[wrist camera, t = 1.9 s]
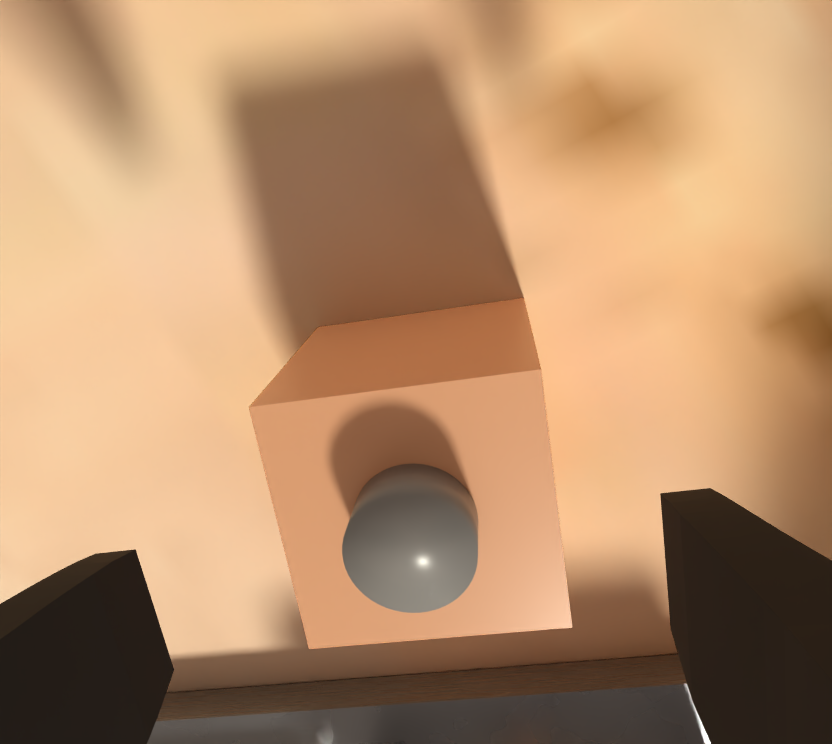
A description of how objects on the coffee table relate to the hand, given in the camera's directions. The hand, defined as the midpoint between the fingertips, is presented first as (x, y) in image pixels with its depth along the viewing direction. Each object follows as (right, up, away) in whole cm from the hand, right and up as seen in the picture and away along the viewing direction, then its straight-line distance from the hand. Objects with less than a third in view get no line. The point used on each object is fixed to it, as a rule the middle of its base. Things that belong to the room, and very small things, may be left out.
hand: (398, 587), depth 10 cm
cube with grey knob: (+1, +2, +7) cm, 7 cm away
